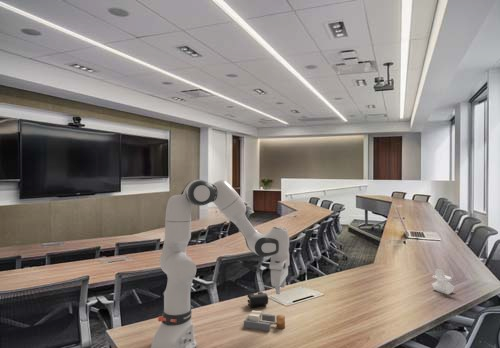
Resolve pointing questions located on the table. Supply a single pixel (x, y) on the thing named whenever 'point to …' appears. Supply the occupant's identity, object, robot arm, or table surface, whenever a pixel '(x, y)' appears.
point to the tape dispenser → (442, 282)
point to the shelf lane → (260, 324)
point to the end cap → (257, 299)
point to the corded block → (258, 317)
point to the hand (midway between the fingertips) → (280, 290)
